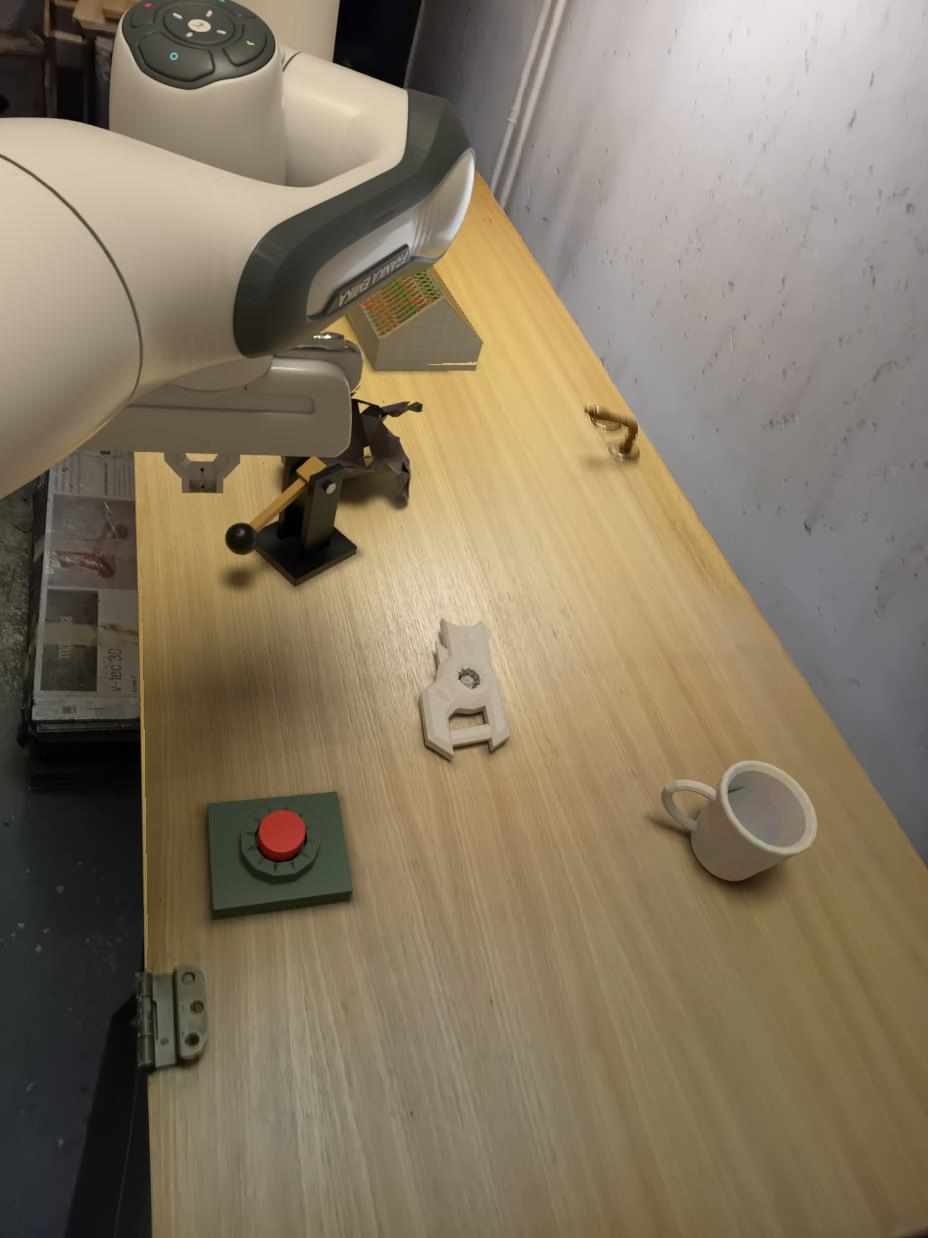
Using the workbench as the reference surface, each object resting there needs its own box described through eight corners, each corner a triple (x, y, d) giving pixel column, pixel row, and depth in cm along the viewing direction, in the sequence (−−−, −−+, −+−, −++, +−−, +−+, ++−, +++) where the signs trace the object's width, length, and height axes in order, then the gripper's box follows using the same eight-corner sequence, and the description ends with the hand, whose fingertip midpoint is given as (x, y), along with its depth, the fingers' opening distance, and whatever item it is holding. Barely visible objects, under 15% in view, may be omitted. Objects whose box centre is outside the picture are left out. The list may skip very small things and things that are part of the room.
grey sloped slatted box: (478, 370, 139) (500, 298, 129) (373, 370, 131) (389, 294, 121) (418, 276, 155) (434, 206, 146) (322, 271, 147) (332, 197, 138)
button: (259, 863, 71) (261, 855, 70) (255, 821, 73) (257, 812, 72) (305, 858, 72) (308, 849, 71) (300, 816, 75) (302, 807, 74)
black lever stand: (295, 586, 97) (308, 500, 87) (246, 541, 100) (253, 452, 90) (356, 553, 104) (374, 469, 94) (308, 511, 106) (322, 425, 96)
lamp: (316, 250, 152) (350, -21, 121) (200, 231, 145) (204, -59, 115) (309, 199, 164) (338, -57, 134) (201, 180, 158) (206, -94, 128)
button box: (212, 920, 71) (213, 902, 68) (206, 814, 76) (207, 793, 74) (349, 900, 75) (356, 882, 72) (334, 801, 81) (339, 781, 78)
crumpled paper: (393, 440, 119) (254, 447, 112) (412, 359, 108) (257, 360, 100) (419, 513, 112) (272, 524, 105) (441, 434, 101) (278, 441, 94)
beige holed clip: (413, 610, 95) (494, 614, 98) (406, 627, 97) (485, 631, 100) (433, 750, 84) (523, 750, 87) (425, 766, 87) (512, 765, 90)
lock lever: (245, 566, 92) (234, 552, 88) (225, 547, 93) (213, 532, 89) (336, 482, 94) (329, 466, 91) (315, 464, 96) (308, 447, 92)
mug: (766, 910, 85) (821, 870, 78) (633, 858, 85) (675, 813, 78) (767, 824, 92) (817, 780, 85) (644, 777, 92) (683, 729, 85)
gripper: (360, 308, 55) (336, 461, 66) (21, 278, 49) (54, 454, 59) (376, 366, 52) (347, 518, 62) (12, 342, 45) (49, 518, 56)
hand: (202, 487), depth 61 cm, fingers closed
